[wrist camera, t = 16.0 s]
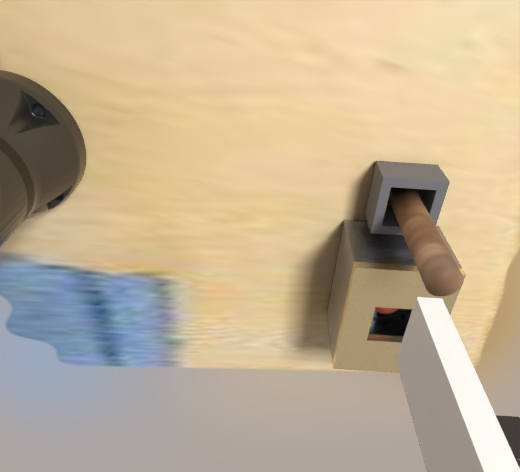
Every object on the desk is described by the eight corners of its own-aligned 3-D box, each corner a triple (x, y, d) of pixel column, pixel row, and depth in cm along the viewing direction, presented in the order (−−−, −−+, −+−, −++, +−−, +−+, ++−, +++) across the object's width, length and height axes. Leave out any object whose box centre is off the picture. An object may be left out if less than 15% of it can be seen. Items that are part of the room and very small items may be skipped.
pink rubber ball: (366, 296, 55) (370, 312, 53) (371, 275, 53) (376, 292, 51) (392, 297, 55) (398, 314, 53) (398, 277, 53) (404, 293, 51)
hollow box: (326, 315, 60) (333, 368, 53) (344, 220, 52) (355, 267, 45) (408, 320, 60) (426, 374, 53) (438, 226, 52) (465, 274, 45)
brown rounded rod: (383, 201, 51) (421, 295, 37) (388, 177, 49) (430, 266, 36) (410, 202, 51) (457, 297, 37) (416, 178, 49) (468, 268, 36)
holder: (364, 214, 52) (370, 233, 48) (376, 160, 48) (383, 177, 45) (422, 217, 52) (431, 237, 48) (437, 165, 48) (449, 181, 45)
